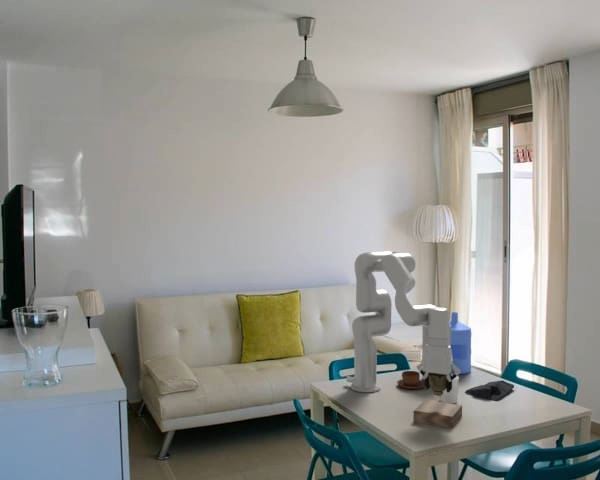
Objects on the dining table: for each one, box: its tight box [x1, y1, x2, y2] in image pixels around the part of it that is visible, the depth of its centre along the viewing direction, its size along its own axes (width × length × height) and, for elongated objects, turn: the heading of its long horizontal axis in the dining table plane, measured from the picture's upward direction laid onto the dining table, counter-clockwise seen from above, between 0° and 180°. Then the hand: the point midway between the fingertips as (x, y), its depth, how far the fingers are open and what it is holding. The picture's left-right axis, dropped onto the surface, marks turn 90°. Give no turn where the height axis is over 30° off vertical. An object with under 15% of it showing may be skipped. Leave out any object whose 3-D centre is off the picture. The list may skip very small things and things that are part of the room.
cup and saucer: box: [396, 370, 425, 390], centre depth 252 cm, size 12×12×6 cm
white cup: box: [439, 375, 460, 404], centre depth 231 cm, size 8×8×10 cm
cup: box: [428, 373, 448, 397], centre depth 211 cm, size 8×7×8 cm
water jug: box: [449, 311, 472, 375], centre depth 278 cm, size 16×16×28 cm
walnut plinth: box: [413, 399, 463, 429], centre depth 211 cm, size 14×14×4 cm
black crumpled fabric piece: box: [464, 379, 515, 402], centre depth 243 cm, size 15×22×5 cm
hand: (438, 389), depth 211 cm, fingers closed on cup, 7 cm apart
